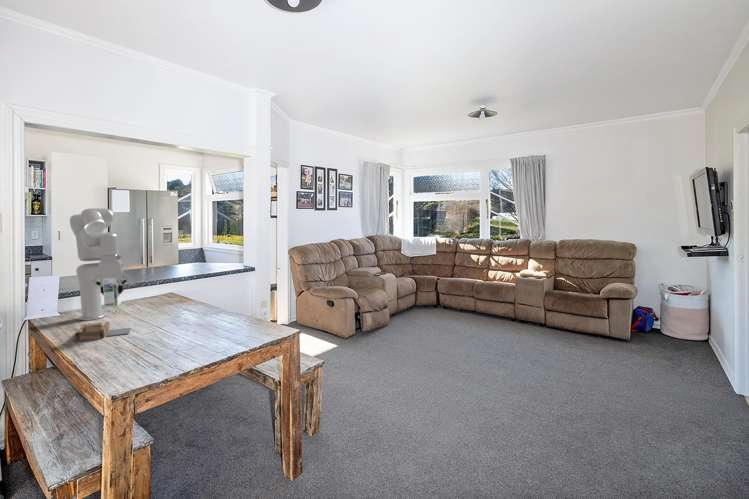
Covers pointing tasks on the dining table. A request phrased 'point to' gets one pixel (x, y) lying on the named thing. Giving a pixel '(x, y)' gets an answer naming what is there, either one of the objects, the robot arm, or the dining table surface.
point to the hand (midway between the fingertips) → (112, 293)
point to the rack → (91, 333)
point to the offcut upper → (94, 325)
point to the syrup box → (111, 292)
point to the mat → (119, 332)
